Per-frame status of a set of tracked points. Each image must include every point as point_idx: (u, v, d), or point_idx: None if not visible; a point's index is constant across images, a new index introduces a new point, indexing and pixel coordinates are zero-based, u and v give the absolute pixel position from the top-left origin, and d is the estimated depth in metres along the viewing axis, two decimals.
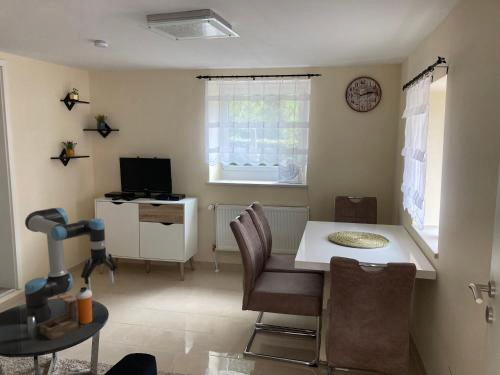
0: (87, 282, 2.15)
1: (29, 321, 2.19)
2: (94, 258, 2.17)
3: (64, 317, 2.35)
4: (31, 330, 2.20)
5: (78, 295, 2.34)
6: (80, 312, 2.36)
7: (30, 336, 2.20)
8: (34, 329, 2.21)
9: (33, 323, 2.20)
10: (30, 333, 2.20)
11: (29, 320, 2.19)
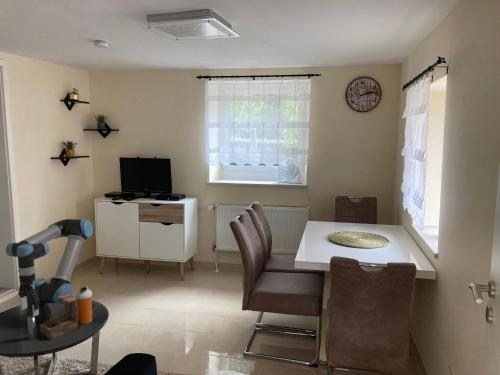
0: None
1: (29, 321, 2.19)
2: None
3: (64, 317, 2.35)
4: (31, 330, 2.20)
5: (78, 295, 2.34)
6: (80, 312, 2.36)
7: (30, 336, 2.20)
8: (34, 329, 2.21)
9: (33, 323, 2.20)
10: (30, 333, 2.20)
11: (29, 320, 2.19)
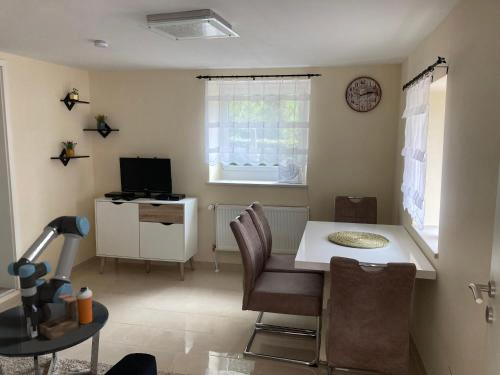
0: None
1: (29, 321, 2.19)
2: None
3: (64, 317, 2.35)
4: None
5: (78, 295, 2.34)
6: (80, 312, 2.36)
7: (30, 336, 2.20)
8: None
9: None
10: (30, 333, 2.20)
11: (29, 320, 2.19)
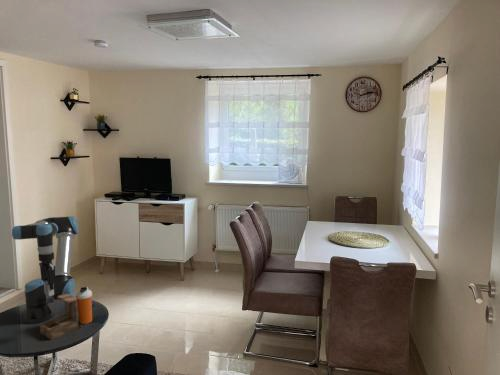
0: (44, 285, 2.24)
1: (46, 284, 2.20)
2: None
3: (64, 317, 2.35)
4: (48, 294, 2.21)
5: (78, 295, 2.34)
6: (80, 312, 2.36)
7: (47, 299, 2.22)
8: None
9: None
10: (47, 296, 2.21)
11: (46, 283, 2.20)
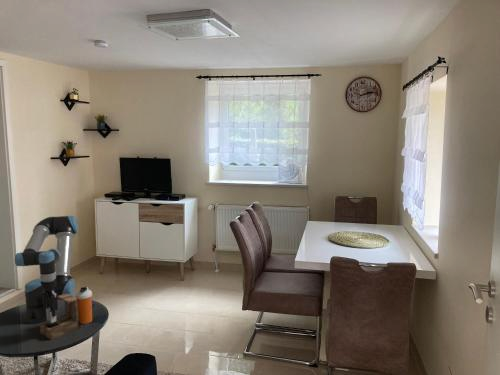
0: None
1: (49, 311, 2.23)
2: None
3: (64, 317, 2.35)
4: None
5: (78, 295, 2.34)
6: (80, 312, 2.36)
7: (50, 326, 2.24)
8: None
9: None
10: (50, 323, 2.24)
11: (49, 310, 2.23)
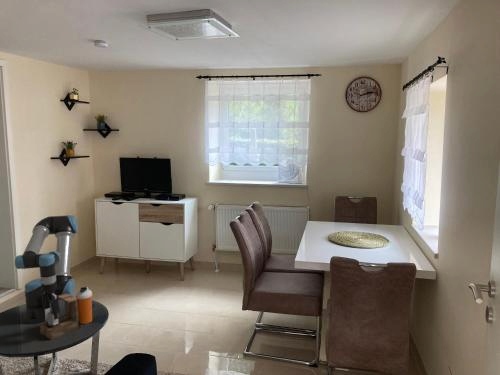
0: None
1: (49, 317, 2.23)
2: None
3: (64, 317, 2.35)
4: (51, 326, 2.24)
5: (78, 295, 2.34)
6: (80, 312, 2.36)
7: None
8: (54, 325, 2.25)
9: None
10: None
11: (49, 316, 2.23)
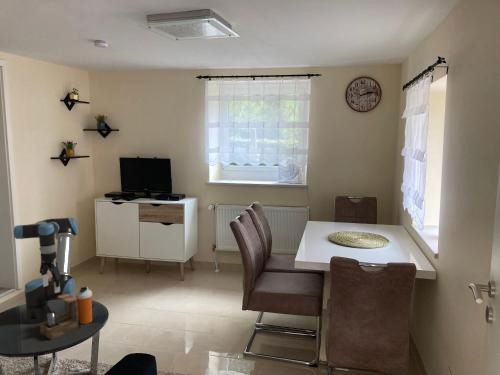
0: None
1: (49, 317, 2.23)
2: None
3: (64, 317, 2.35)
4: (51, 326, 2.24)
5: (78, 295, 2.34)
6: (80, 312, 2.36)
7: None
8: (54, 325, 2.25)
9: (53, 319, 2.24)
10: None
11: (49, 316, 2.23)
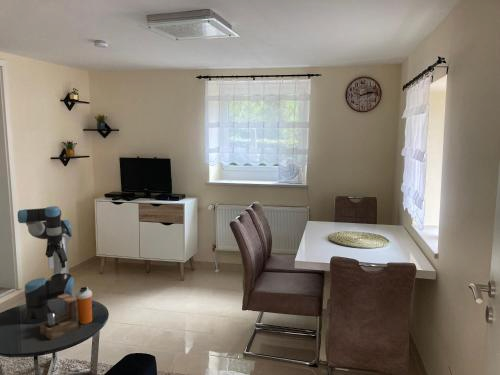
0: None
1: (49, 317, 2.23)
2: (50, 242, 2.31)
3: (64, 317, 2.35)
4: (51, 326, 2.24)
5: (78, 295, 2.34)
6: (80, 312, 2.36)
7: None
8: (54, 325, 2.25)
9: (53, 319, 2.24)
10: None
11: (49, 316, 2.23)
